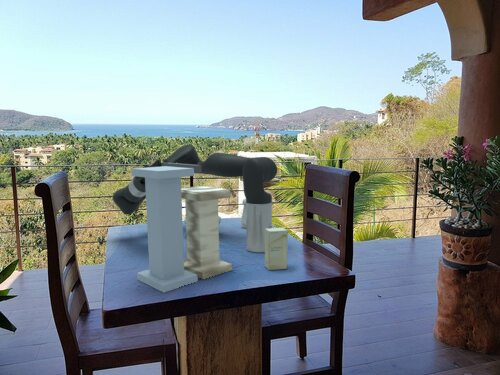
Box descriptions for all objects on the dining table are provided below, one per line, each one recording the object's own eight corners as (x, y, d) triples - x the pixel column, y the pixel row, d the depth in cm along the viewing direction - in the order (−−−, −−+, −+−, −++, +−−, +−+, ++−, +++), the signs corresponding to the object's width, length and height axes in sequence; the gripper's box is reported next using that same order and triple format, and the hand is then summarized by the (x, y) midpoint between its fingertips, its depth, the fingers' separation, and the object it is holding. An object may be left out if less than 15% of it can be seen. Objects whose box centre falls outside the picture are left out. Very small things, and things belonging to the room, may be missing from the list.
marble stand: (175, 268, 121) (172, 188, 118) (204, 260, 128) (201, 185, 125) (203, 279, 111) (200, 193, 108) (232, 270, 118) (230, 189, 115)
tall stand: (137, 279, 112) (131, 168, 108) (170, 270, 119) (166, 166, 115) (163, 292, 102) (158, 171, 98) (197, 281, 109) (193, 168, 105)
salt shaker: (252, 229, 172) (252, 200, 170) (240, 228, 173) (239, 199, 171) (255, 226, 178) (254, 198, 176) (242, 225, 179) (242, 197, 177)
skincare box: (268, 270, 118) (268, 231, 116) (264, 266, 122) (264, 228, 120) (288, 268, 119) (288, 230, 118) (283, 264, 124) (283, 226, 122)
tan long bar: (150, 168, 134) (150, 161, 134) (156, 167, 136) (156, 161, 136) (195, 172, 116) (195, 165, 115) (201, 172, 117) (201, 165, 117)
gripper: (121, 175, 138) (141, 152, 126) (156, 172, 148) (177, 150, 136) (127, 194, 136) (148, 172, 124) (162, 190, 146) (184, 170, 134)
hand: (163, 161), depth 130 cm, fingers closed on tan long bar, 2 cm apart
